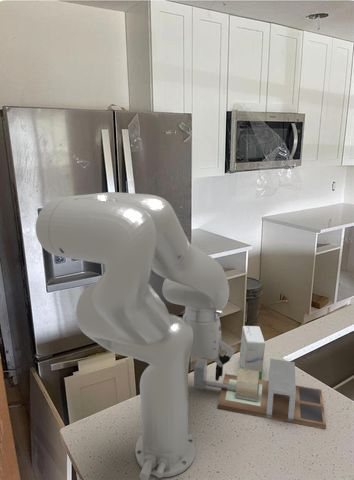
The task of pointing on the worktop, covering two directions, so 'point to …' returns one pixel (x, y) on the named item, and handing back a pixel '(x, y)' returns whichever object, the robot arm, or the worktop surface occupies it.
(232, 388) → the grey dumbbell
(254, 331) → the ink box
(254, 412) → the board
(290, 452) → the worktop surface
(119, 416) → the worktop surface
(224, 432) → the worktop surface
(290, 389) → the tunnel
